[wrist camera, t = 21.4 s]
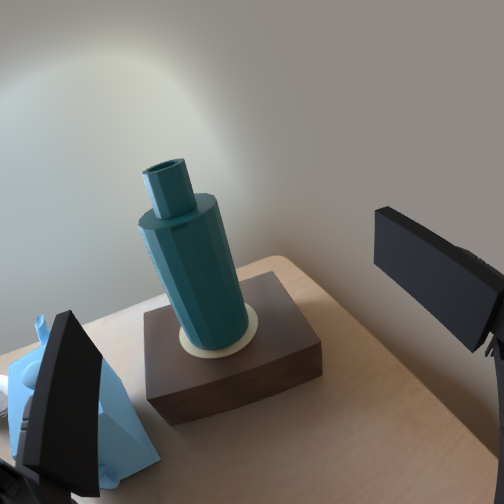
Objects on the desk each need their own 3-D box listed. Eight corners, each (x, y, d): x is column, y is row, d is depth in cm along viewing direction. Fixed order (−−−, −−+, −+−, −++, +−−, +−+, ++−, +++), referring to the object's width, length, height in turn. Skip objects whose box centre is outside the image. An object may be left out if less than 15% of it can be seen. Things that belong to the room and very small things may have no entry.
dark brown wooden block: (278, 303, 42) (272, 269, 39) (322, 374, 30) (321, 340, 27) (160, 343, 39) (142, 311, 36) (170, 426, 27) (145, 398, 24)
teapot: (181, 483, 21) (100, 427, 14) (99, 520, 16) (-2, 473, 9) (115, 359, 37) (66, 285, 30) (58, 390, 32) (2, 323, 25)
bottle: (239, 298, 35) (198, 148, 26) (257, 337, 29) (210, 160, 20) (184, 316, 34) (127, 171, 25) (192, 358, 28) (117, 190, 19)
